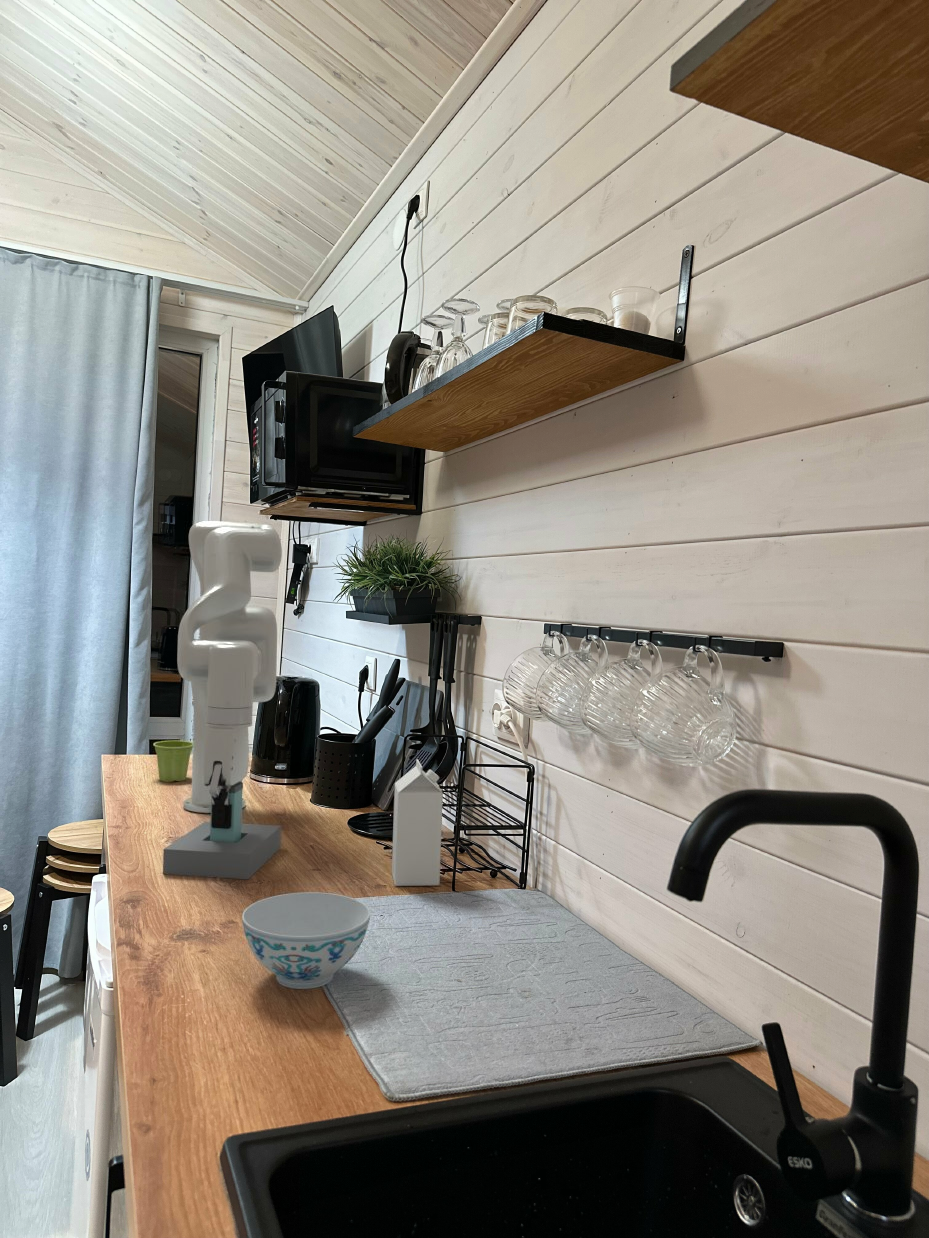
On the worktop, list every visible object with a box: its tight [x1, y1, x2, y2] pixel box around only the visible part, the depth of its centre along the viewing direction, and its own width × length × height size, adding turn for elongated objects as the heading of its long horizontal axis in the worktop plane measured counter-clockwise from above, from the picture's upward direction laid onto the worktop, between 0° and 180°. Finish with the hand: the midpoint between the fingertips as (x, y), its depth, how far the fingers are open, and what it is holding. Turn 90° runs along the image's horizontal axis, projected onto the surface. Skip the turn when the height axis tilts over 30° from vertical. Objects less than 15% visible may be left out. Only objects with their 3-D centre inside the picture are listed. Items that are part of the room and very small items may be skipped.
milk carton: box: [391, 759, 444, 887], centre depth 144 cm, size 7×7×19 cm
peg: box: [209, 781, 244, 843], centre depth 151 cm, size 4×4×10 cm
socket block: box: [162, 821, 282, 880], centre depth 151 cm, size 18×14×4 cm
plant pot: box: [153, 740, 193, 783], centre depth 214 cm, size 9×9×9 cm
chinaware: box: [241, 891, 371, 990], centre depth 106 cm, size 15×15×8 cm
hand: (226, 823), depth 151 cm, fingers closed on peg, 4 cm apart
